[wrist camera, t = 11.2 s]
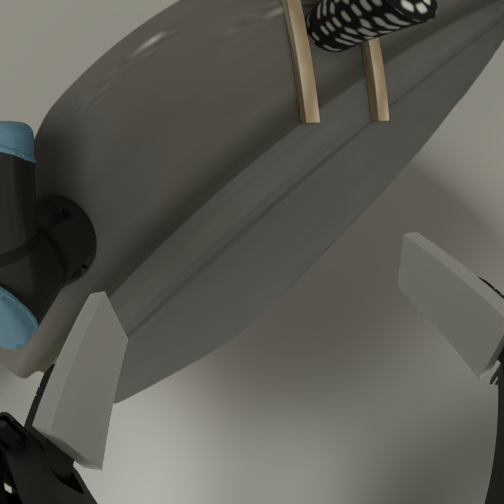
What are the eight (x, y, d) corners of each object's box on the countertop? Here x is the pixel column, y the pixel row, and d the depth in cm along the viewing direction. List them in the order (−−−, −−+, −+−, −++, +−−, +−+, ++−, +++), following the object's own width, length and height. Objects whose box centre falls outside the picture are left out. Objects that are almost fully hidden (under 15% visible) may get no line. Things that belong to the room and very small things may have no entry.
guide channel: (301, 122, 38) (315, 123, 33) (280, -7, 28) (290, -22, 23) (380, 119, 39) (401, 122, 34) (361, 1, 29) (380, -9, 24)
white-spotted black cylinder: (363, 40, 33) (448, 12, 15) (327, 60, 34) (407, 31, 16) (332, 1, 29) (402, -48, 11) (293, 19, 31) (353, -38, 13)
